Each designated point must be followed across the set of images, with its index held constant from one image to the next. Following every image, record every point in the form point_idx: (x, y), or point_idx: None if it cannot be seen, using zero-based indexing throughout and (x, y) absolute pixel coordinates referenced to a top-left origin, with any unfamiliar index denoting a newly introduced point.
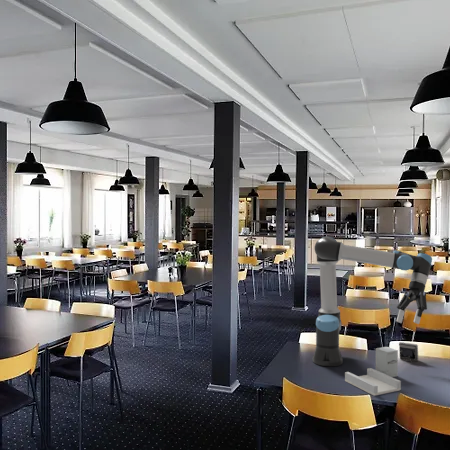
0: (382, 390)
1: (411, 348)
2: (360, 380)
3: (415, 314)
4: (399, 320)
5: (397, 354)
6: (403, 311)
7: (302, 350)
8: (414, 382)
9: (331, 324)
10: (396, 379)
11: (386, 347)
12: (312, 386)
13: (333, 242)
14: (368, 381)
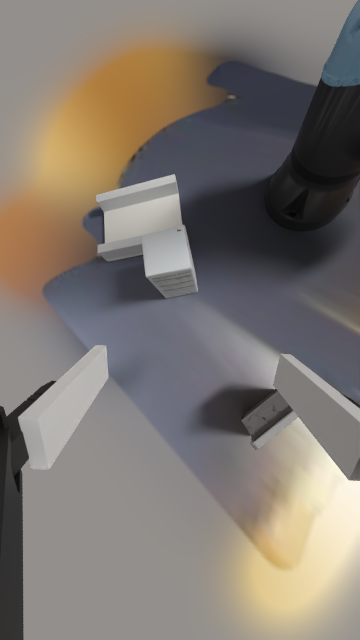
0: (108, 223)
1: (249, 414)
2: (130, 187)
3: (76, 376)
4: (284, 374)
5: (149, 280)
6: (346, 459)
7: None
8: (127, 309)
9: (345, 26)
10: (107, 250)
11: (180, 259)
12: (173, 132)
13: None
14: (118, 196)
